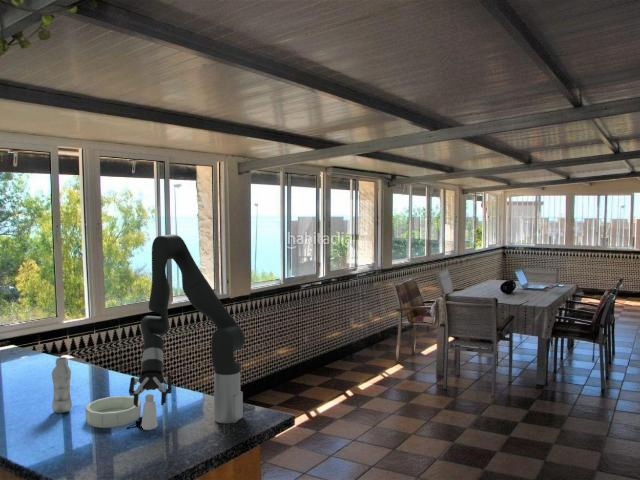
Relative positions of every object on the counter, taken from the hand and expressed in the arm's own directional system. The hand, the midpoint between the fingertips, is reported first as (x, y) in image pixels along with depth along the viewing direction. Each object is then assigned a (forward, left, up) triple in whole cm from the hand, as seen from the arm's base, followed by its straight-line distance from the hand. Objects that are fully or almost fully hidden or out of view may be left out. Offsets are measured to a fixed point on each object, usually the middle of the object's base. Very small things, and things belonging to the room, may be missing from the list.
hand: (149, 404), depth 184 cm
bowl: (+17, -2, -7) cm, 18 cm away
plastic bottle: (+39, -1, -8) cm, 39 cm away
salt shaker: (0, +1, -8) cm, 8 cm away
